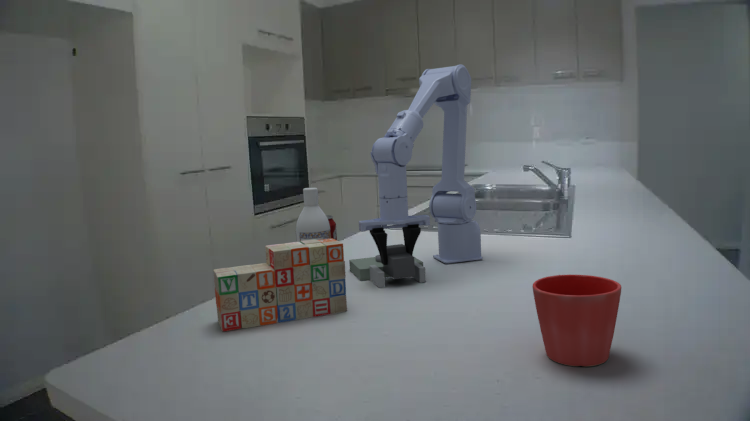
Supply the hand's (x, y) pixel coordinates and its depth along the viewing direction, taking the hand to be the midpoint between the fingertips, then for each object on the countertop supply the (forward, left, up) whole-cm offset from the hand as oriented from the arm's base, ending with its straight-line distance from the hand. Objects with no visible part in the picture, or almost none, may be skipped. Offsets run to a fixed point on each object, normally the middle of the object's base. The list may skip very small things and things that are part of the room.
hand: (396, 262), depth 116 cm
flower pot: (-10, +46, -4) cm, 48 cm away
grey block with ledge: (0, +1, -2) cm, 2 cm away
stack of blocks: (+25, +13, -4) cm, 28 cm away
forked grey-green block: (0, -5, -4) cm, 6 cm away
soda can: (+12, -19, -4) cm, 22 cm away
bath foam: (+16, -5, -4) cm, 17 cm away
